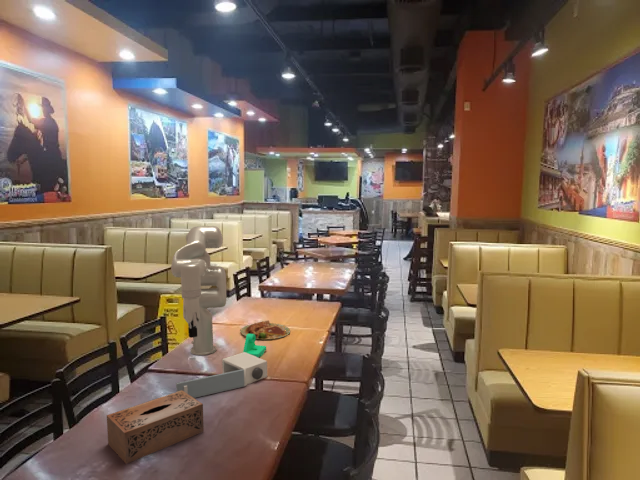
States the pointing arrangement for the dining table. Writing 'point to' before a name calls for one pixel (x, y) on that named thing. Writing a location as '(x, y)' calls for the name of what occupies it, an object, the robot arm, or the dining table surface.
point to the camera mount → (253, 346)
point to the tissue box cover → (154, 425)
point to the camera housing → (246, 366)
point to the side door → (213, 383)
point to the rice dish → (265, 330)
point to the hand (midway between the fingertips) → (193, 336)
